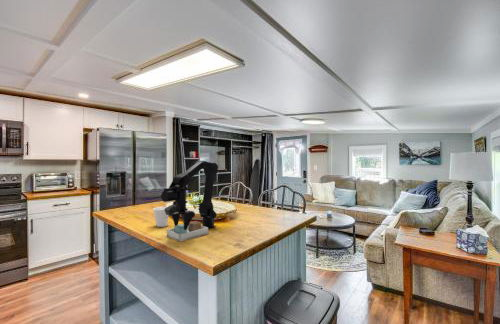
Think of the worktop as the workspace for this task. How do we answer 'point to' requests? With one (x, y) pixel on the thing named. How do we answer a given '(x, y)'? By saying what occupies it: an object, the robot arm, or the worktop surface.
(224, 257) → the worktop surface
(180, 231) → the teal block
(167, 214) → the robot arm
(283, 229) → the worktop surface
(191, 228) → the walnut block
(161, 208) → the cup
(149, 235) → the worktop surface
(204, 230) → the tray
